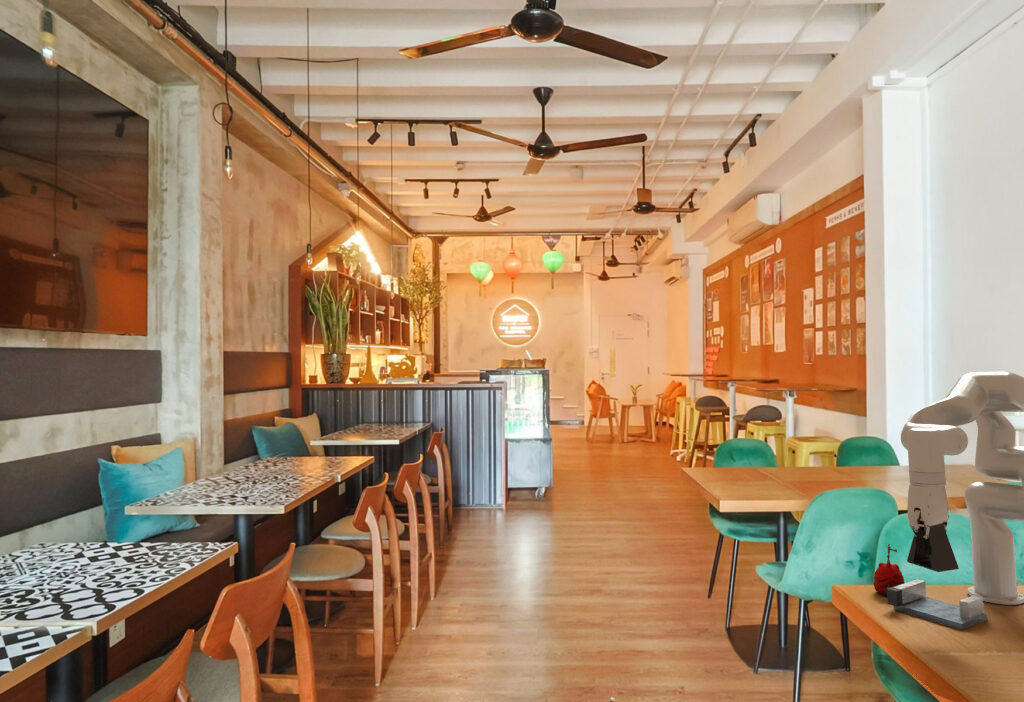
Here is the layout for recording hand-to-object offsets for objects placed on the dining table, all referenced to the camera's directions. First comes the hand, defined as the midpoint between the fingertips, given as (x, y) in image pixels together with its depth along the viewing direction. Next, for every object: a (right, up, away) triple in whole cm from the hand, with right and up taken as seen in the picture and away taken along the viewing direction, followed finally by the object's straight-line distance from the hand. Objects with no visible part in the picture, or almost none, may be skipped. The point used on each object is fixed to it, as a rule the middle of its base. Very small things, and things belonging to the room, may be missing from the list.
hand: (931, 550), depth 157 cm
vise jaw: (+3, -18, +14) cm, 23 cm away
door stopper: (0, -4, 0) cm, 4 cm away
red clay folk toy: (+4, -20, +24) cm, 32 cm away
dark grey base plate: (+8, -19, +9) cm, 22 cm away
